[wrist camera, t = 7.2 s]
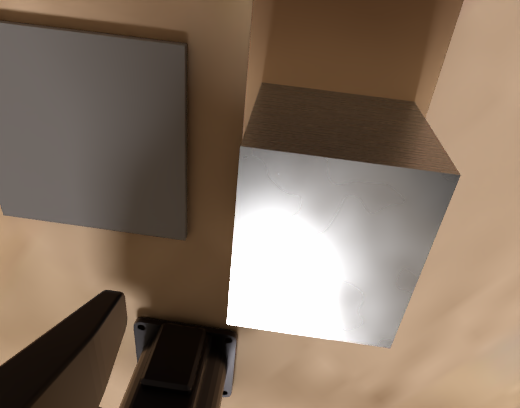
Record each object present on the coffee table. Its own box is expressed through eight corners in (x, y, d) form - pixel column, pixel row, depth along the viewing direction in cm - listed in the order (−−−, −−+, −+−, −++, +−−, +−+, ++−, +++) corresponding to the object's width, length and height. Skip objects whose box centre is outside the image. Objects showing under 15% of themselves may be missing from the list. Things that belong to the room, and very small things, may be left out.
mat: (187, 236, 23) (185, 240, 22) (7, 211, 23) (3, 215, 23) (187, 43, 17) (184, 45, 17) (-48, 14, 18) (-55, 16, 17)
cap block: (370, 245, 17) (390, 348, 13) (247, 228, 17) (226, 324, 13) (414, 101, 14) (460, 175, 9) (261, 82, 14) (239, 146, 10)
